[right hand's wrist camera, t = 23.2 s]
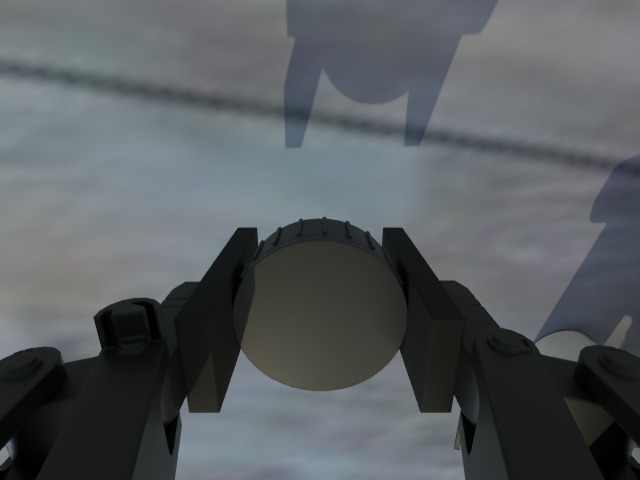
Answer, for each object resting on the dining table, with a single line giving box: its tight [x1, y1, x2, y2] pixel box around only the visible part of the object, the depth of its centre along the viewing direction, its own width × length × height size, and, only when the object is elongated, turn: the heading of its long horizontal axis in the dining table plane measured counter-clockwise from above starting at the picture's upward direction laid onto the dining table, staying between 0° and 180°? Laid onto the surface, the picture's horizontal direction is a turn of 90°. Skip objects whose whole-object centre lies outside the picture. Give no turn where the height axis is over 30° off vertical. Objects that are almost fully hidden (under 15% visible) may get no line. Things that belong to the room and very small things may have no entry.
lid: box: [233, 217, 408, 391], centre depth 11 cm, size 5×5×2 cm
